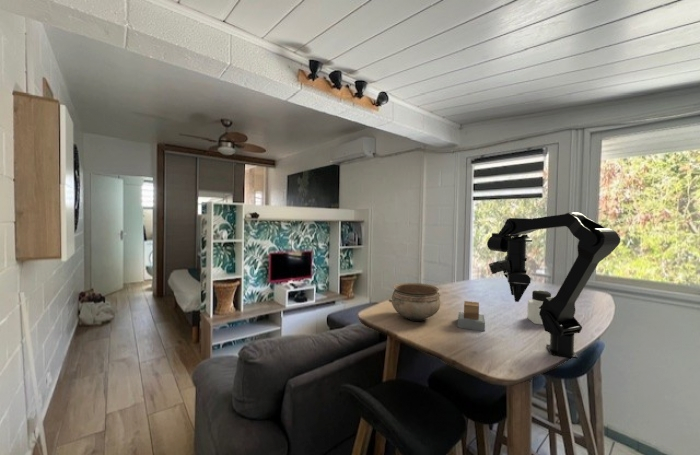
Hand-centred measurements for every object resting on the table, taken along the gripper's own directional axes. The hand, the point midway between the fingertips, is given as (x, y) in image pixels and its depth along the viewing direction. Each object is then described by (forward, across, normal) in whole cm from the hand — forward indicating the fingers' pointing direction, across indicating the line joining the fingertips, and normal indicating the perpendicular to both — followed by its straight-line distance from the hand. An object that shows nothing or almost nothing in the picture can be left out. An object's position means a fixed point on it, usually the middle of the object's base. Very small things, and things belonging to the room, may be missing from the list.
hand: (514, 298), depth 101 cm
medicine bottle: (+12, -16, +11) cm, 23 cm away
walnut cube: (+9, -1, -14) cm, 16 cm away
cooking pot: (+12, 0, -34) cm, 37 cm away
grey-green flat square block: (+12, -1, -14) cm, 18 cm away
